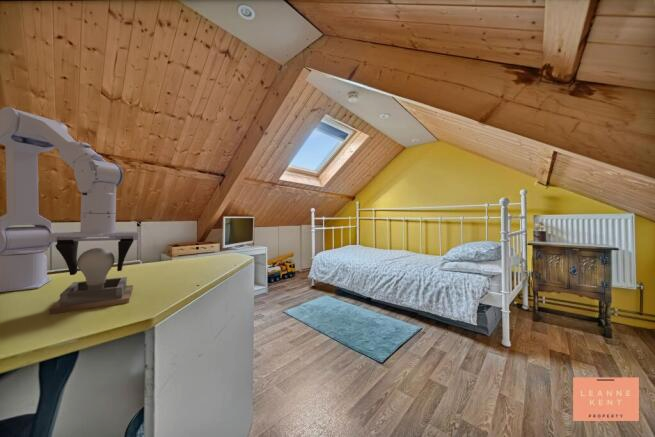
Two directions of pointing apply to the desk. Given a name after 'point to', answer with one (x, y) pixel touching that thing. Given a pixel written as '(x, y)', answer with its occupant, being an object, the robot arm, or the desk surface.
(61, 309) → the socket base
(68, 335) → the desk surface
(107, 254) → the lightbulb
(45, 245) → the robot arm
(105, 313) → the desk surface
